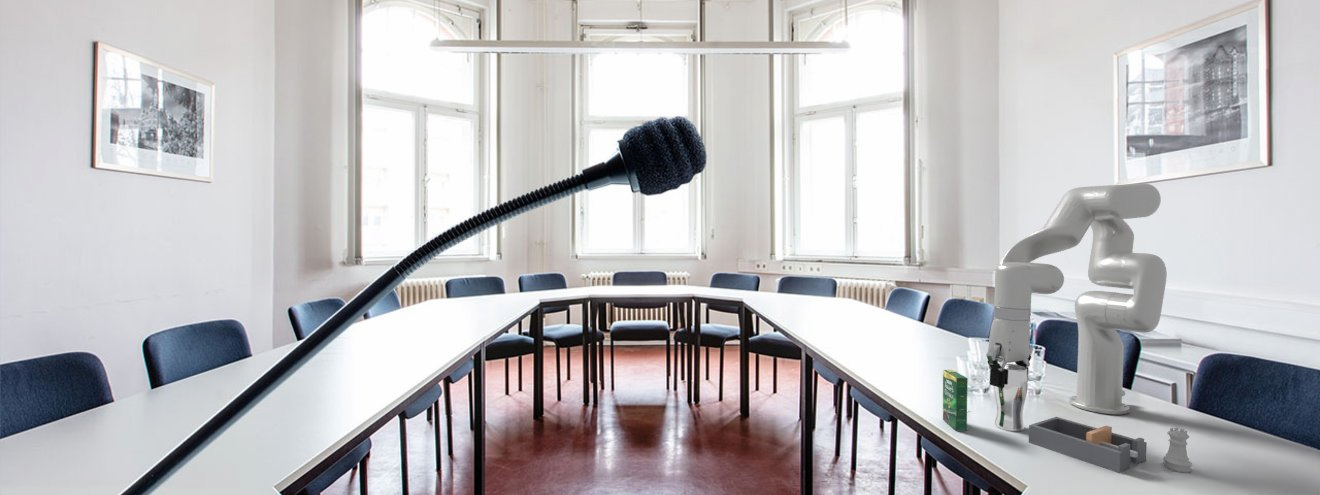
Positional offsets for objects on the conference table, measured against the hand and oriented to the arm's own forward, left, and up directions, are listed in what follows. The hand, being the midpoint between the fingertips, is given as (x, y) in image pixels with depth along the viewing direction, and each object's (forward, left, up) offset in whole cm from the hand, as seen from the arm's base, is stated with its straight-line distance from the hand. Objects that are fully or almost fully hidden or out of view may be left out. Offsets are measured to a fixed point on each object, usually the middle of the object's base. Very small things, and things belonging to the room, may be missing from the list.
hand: (1008, 384), depth 131 cm
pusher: (-1, +21, -10) cm, 24 cm away
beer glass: (-1, 0, -11) cm, 11 cm away
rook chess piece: (-8, +29, -11) cm, 32 cm away
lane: (-1, +16, -11) cm, 19 cm away
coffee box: (+10, -7, -11) cm, 17 cm away
